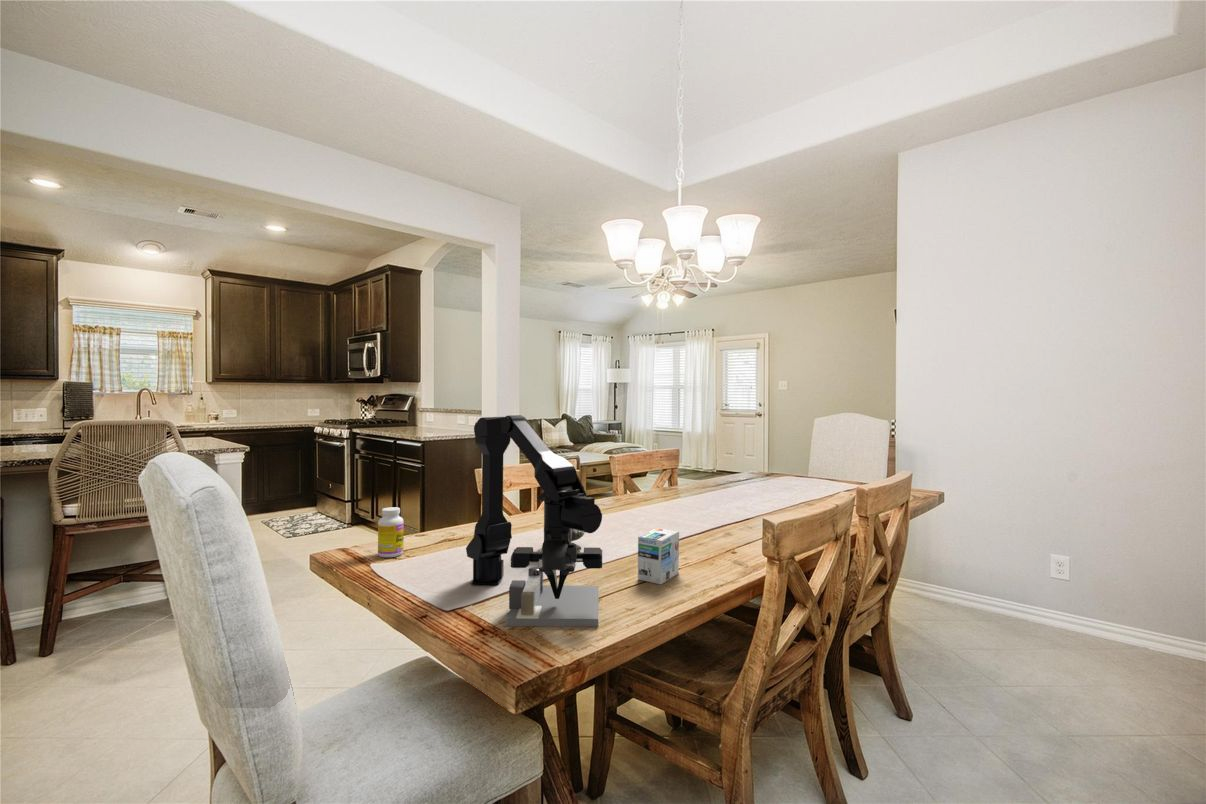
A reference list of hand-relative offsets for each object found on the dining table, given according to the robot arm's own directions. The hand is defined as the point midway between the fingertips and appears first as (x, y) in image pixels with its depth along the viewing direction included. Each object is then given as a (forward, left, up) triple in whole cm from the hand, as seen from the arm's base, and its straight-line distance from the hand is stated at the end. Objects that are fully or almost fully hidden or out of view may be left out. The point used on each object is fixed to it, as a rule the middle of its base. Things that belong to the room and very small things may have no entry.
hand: (557, 598), depth 113 cm
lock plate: (0, +2, -3) cm, 4 cm away
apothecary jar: (-1, +44, -3) cm, 44 cm away
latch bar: (-5, +2, -1) cm, 6 cm away
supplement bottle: (-49, +38, -3) cm, 62 cm away
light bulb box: (+24, +22, -3) cm, 33 cm away
